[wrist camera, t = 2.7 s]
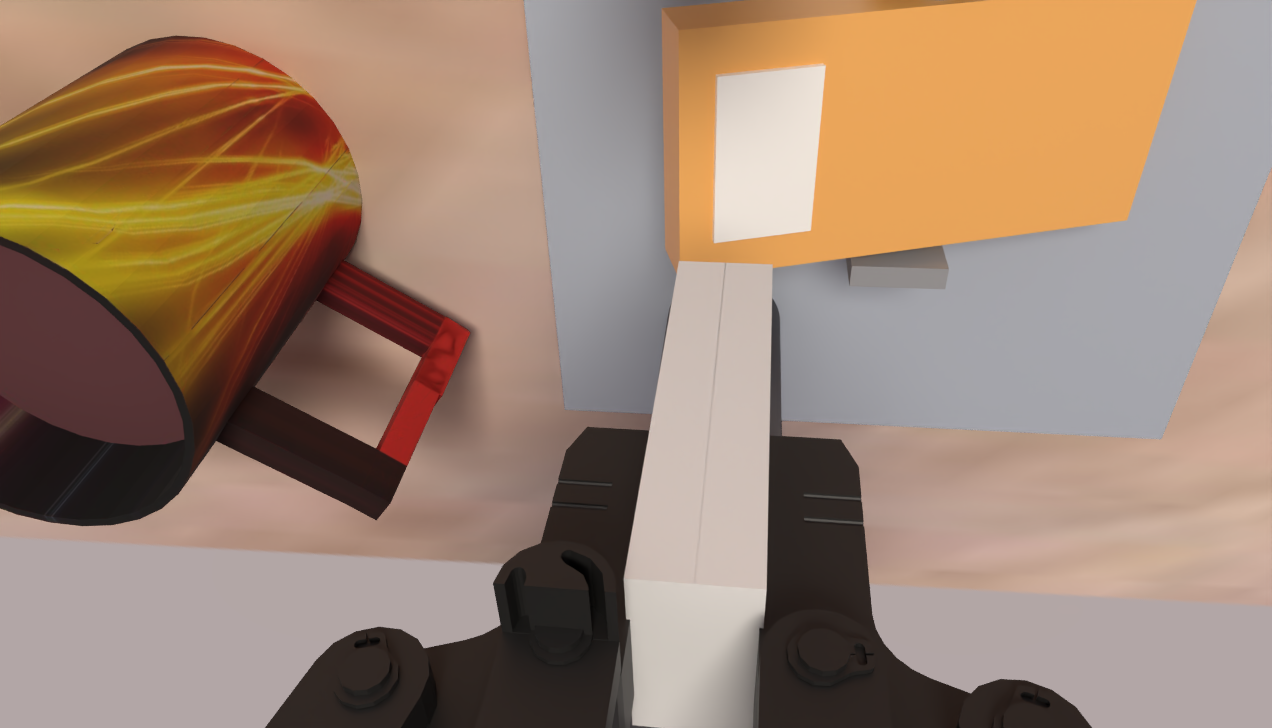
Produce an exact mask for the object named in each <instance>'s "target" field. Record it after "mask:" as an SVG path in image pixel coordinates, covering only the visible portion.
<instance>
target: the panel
mask: <svg viewBox="0 0 1272 728" xmlns="http://www.w3.org/2000/svg"><path fill="white" fill-rule="evenodd" d="M733 1H744V0H524V8H525V18H526V28H527V38H528V48H529V58H530V68H531V78H532V88H533V98H534V108H535V118H536V128H537V138H538V148H539V158H540V167H541V177H542V187H543V197H544V207H545V217H546V227H547V237H548V247H549V257H550V267H551V277H552V287H553V297H554V307H555V317H556V327H557V337H558V347H559V357H560V367H561V377H562V387H563V397H564V407H565V410H579V411H600V412H620V413H640V414H652V413H653V407H654V401H655V395H656V389H657V382H658V376H659V370H660V363H661V357H662V350H663V344H664V338H665V331H666V325H667V318H668V313H669V308H670V306H671V303H672V298H673V292H674V286H675V281H676V275H677V274H676V271H675V269H674V267H673V265H672V263H671V260H670V258H669V256H668V254H667V252H666V250H665V209H664V143H663V76H662V9H661V8H669V7H679V6H690V5H701V4H712V3H723V2H733ZM1271 168H1272V0H1197V2H1196V5H1195V8H1194V11H1193V14H1192V17H1191V20H1190V24H1189V27H1188V30H1187V33H1186V36H1185V39H1184V42H1183V46H1182V49H1181V52H1180V55H1179V58H1178V61H1177V65H1176V68H1175V71H1174V74H1173V77H1172V80H1171V83H1170V87H1169V90H1168V93H1167V96H1166V99H1165V102H1164V106H1163V109H1162V112H1161V115H1160V118H1159V121H1158V124H1157V128H1156V131H1155V134H1154V137H1153V140H1152V143H1151V147H1150V150H1149V153H1148V156H1147V159H1146V162H1145V165H1144V169H1143V172H1142V175H1141V178H1140V181H1139V184H1138V188H1137V191H1136V194H1135V197H1134V200H1133V203H1132V206H1131V210H1130V213H1129V216H1128V219H1127V220H1125V221H1118V222H1111V223H1103V224H1096V225H1088V226H1081V227H1074V228H1066V229H1059V230H1051V231H1044V232H1036V233H1029V234H1022V235H1014V236H1007V237H999V238H992V239H985V240H977V241H970V242H962V243H955V244H947V245H940V246H933V247H925V248H918V249H910V250H903V251H895V252H888V253H881V254H873V255H866V256H858V257H851V258H844V259H836V260H829V261H821V262H814V263H806V264H799V265H792V266H784V267H777V268H773V272H772V298H773V300H774V301H775V303H776V305H777V308H778V311H779V315H780V349H781V418H782V421H802V422H822V423H842V424H862V425H883V426H903V427H923V428H943V429H963V430H984V431H1004V432H1024V433H1044V434H1065V435H1085V436H1105V437H1125V438H1145V439H1162V436H1163V434H1164V431H1165V429H1166V426H1167V424H1168V422H1169V419H1170V417H1171V414H1172V412H1173V409H1174V407H1175V404H1176V402H1177V399H1178V397H1179V394H1180V392H1181V389H1182V387H1183V385H1184V382H1185V380H1186V377H1187V375H1188V372H1189V370H1190V367H1191V365H1192V362H1193V360H1194V357H1195V355H1196V352H1197V350H1198V348H1199V345H1200V343H1201V340H1202V338H1203V335H1204V333H1205V330H1206V328H1207V325H1208V323H1209V320H1210V318H1211V316H1212V313H1213V311H1214V308H1215V306H1216V303H1217V301H1218V298H1219V296H1220V293H1221V291H1222V288H1223V286H1224V283H1225V281H1226V279H1227V276H1228V274H1229V271H1230V269H1231V266H1232V264H1233V261H1234V259H1235V256H1236V254H1237V251H1238V249H1239V246H1240V244H1241V242H1242V239H1243V237H1244V234H1245V232H1246V229H1247V227H1248V224H1249V222H1250V219H1251V217H1252V214H1253V212H1254V209H1255V207H1256V205H1257V202H1258V200H1259V197H1260V195H1261V192H1262V190H1263V187H1264V185H1265V182H1266V180H1267V177H1268V175H1269V172H1270V170H1271Z"/></svg>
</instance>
